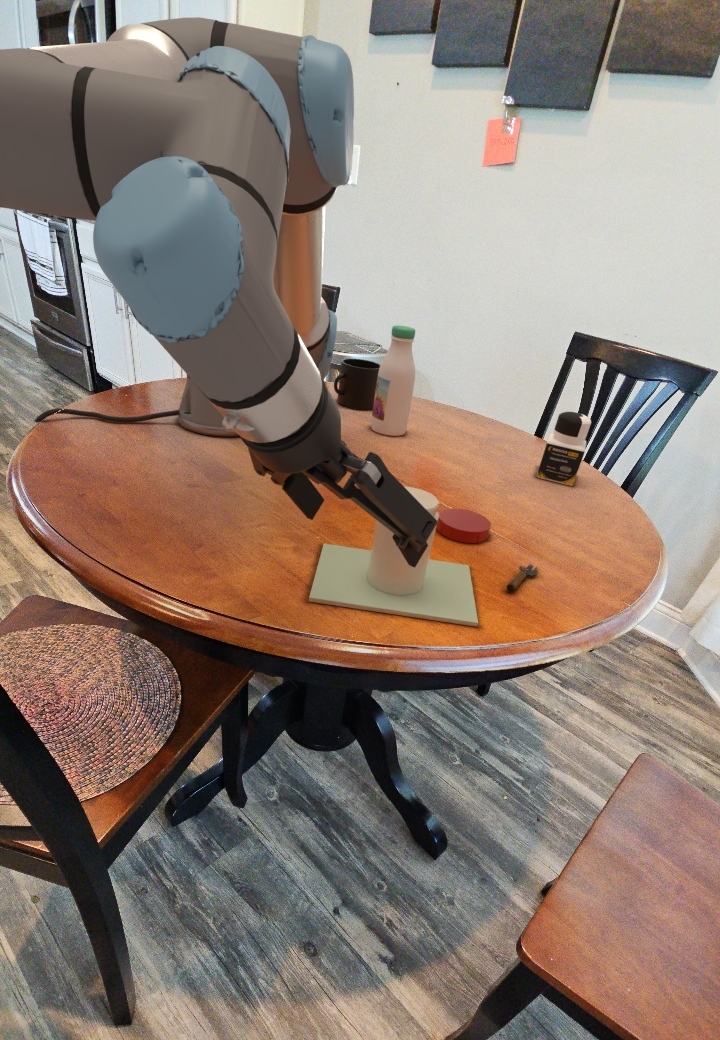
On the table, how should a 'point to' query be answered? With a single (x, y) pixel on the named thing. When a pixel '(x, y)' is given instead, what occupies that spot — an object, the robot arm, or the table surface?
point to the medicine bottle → (565, 449)
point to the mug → (357, 383)
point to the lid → (463, 525)
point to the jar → (399, 555)
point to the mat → (349, 587)
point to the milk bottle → (395, 384)
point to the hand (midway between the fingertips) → (365, 531)
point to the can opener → (521, 577)
